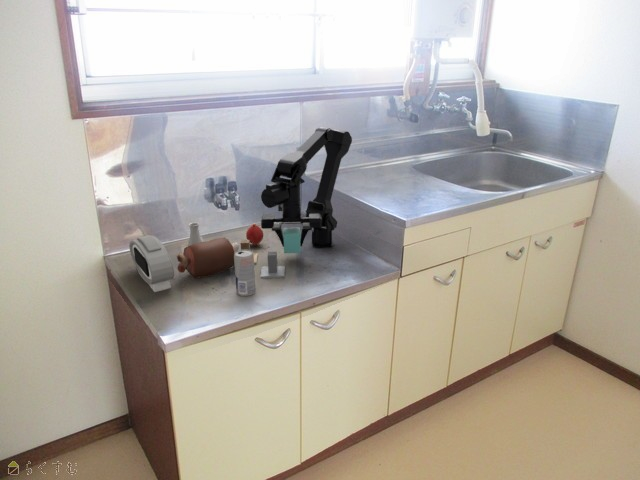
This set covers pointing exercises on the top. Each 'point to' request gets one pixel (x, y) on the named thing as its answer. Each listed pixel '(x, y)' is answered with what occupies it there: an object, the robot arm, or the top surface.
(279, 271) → the light grey base plate
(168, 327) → the top surface
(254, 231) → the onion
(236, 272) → the energy drink
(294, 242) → the turquoise block
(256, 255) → the tan wooden stamp
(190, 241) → the flask
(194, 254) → the meat
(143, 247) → the alarm clock
